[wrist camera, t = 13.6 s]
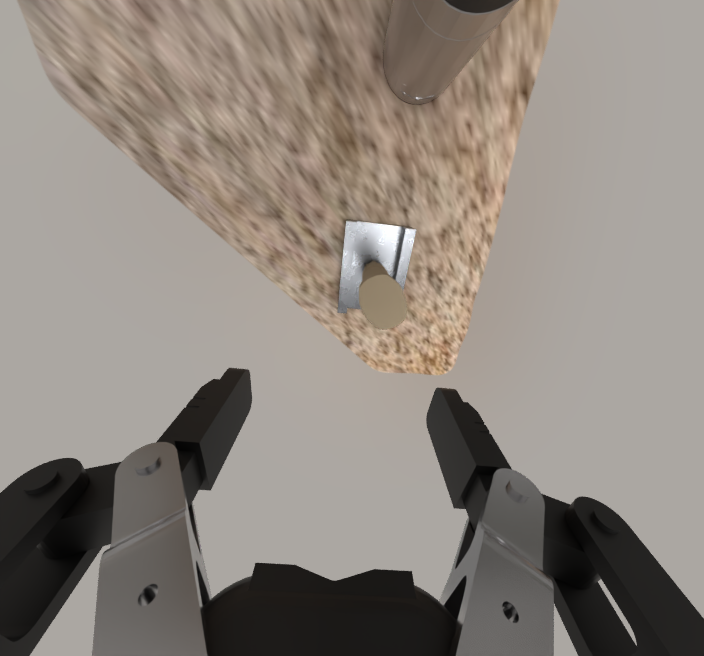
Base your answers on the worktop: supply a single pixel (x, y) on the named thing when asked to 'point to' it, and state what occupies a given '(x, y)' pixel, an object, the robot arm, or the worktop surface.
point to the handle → (381, 297)
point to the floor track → (372, 256)
